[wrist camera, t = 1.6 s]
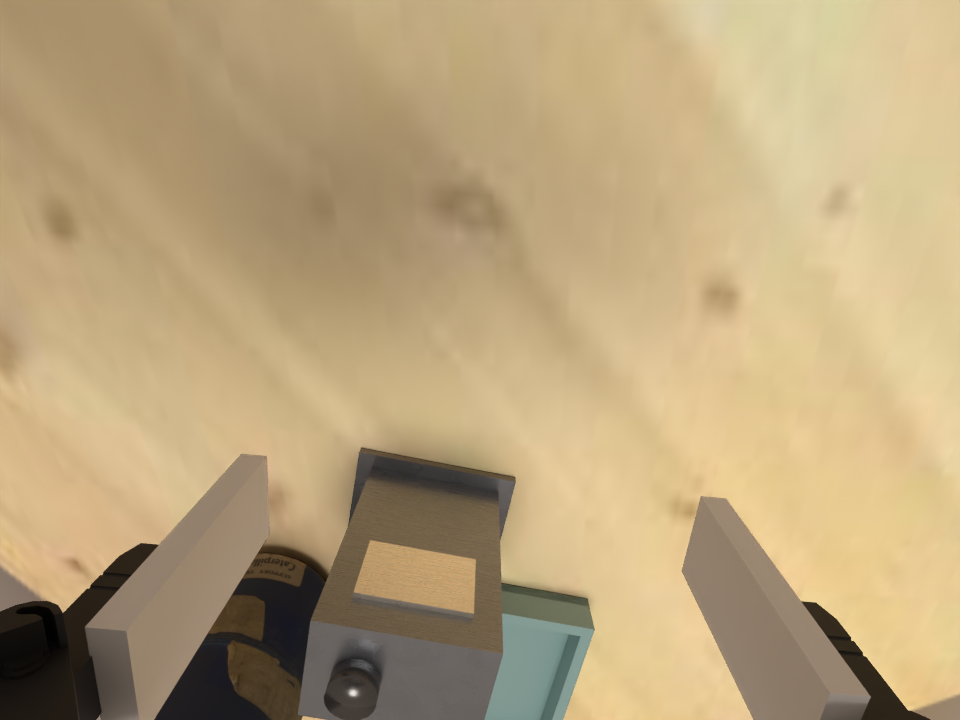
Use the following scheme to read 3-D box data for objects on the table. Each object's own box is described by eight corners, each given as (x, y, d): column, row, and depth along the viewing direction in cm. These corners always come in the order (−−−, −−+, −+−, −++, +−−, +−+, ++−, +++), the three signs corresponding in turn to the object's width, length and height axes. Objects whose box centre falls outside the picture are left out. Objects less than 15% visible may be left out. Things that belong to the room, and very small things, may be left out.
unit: (347, 541, 41) (266, 750, 26) (361, 447, 38) (281, 620, 23) (491, 568, 41) (492, 786, 26) (515, 477, 39) (531, 663, 24)
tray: (371, 713, 46) (363, 748, 43) (400, 565, 41) (393, 594, 38) (539, 741, 47) (542, 778, 44) (587, 598, 42) (594, 629, 39)
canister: (205, 546, 41) (3, 811, 24) (330, 540, 41) (215, 804, 24) (232, 645, 44) (71, 942, 27) (349, 640, 44) (259, 938, 27)
